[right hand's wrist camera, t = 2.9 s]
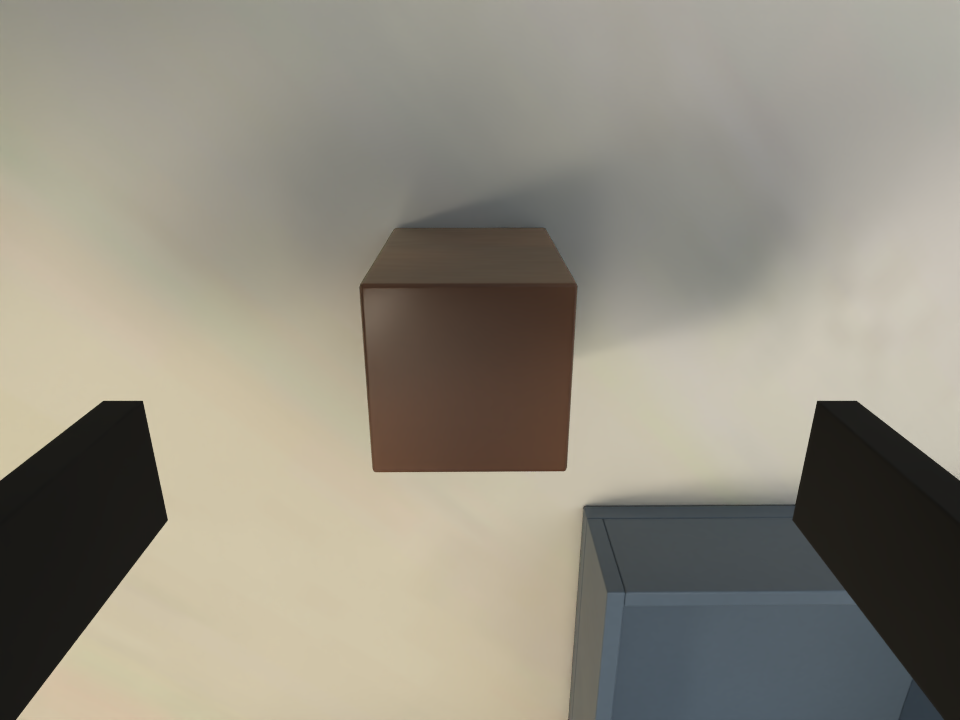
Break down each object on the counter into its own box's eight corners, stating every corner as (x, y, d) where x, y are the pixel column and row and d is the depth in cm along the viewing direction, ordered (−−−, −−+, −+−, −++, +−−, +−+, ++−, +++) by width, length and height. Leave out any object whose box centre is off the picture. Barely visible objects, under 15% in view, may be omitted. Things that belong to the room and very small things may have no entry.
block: (400, 368, 23) (372, 473, 16) (393, 227, 21) (358, 284, 15) (540, 367, 23) (567, 472, 16) (545, 227, 21) (578, 283, 15)
